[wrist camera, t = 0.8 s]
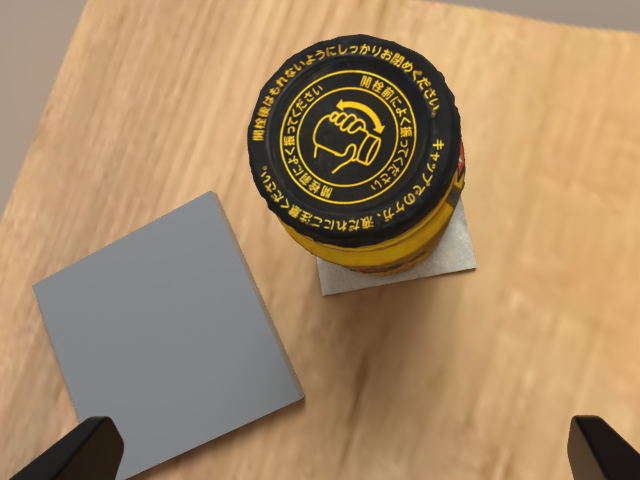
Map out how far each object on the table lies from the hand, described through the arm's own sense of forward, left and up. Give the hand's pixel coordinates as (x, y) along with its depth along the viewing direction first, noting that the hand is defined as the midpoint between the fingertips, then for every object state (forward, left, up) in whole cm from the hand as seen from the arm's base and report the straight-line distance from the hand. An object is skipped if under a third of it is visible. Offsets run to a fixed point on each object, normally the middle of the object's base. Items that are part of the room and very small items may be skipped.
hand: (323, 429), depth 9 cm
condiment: (+7, -2, -13) cm, 15 cm away
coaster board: (+2, +10, -13) cm, 17 cm away
